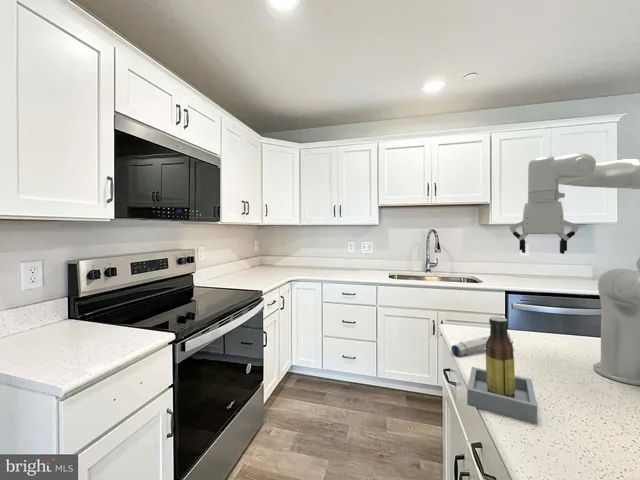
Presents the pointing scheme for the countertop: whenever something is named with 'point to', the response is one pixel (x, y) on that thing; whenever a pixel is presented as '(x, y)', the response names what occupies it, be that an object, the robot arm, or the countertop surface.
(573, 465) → the countertop surface
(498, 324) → the sauce bottle
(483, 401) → the dock
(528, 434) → the countertop surface
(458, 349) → the electric cleaning brush
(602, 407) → the countertop surface
